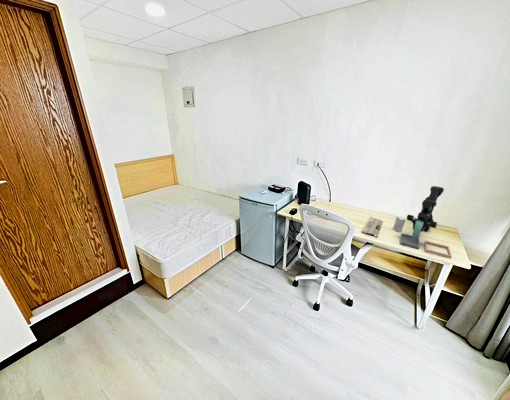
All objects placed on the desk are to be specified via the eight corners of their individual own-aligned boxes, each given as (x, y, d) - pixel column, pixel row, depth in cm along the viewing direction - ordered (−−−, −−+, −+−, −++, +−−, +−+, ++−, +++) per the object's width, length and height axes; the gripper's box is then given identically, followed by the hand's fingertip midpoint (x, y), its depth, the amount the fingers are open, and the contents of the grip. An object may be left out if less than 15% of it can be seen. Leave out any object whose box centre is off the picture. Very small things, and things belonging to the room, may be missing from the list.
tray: (400, 235, 181) (401, 233, 180) (418, 240, 175) (418, 237, 174) (399, 244, 169) (400, 241, 168) (418, 249, 162) (419, 246, 162)
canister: (410, 236, 169) (415, 220, 164) (414, 235, 170) (419, 219, 165) (415, 239, 165) (420, 223, 160) (420, 238, 166) (425, 222, 161)
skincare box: (392, 228, 193) (396, 216, 188) (397, 228, 193) (401, 216, 188) (397, 232, 187) (400, 219, 183) (402, 232, 187) (405, 219, 183)
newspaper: (377, 238, 178) (378, 234, 177) (360, 233, 185) (361, 230, 184) (382, 222, 205) (383, 219, 204) (368, 219, 212) (369, 215, 211)
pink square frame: (424, 242, 171) (425, 240, 170) (448, 248, 163) (448, 246, 162) (425, 251, 160) (426, 249, 159) (450, 258, 152) (451, 256, 151)
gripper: (410, 205, 168) (402, 222, 166) (440, 212, 155) (432, 231, 152) (411, 211, 176) (403, 227, 173) (439, 219, 163) (431, 236, 160)
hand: (416, 230), depth 164 cm, fingers closed on canister, 4 cm apart
